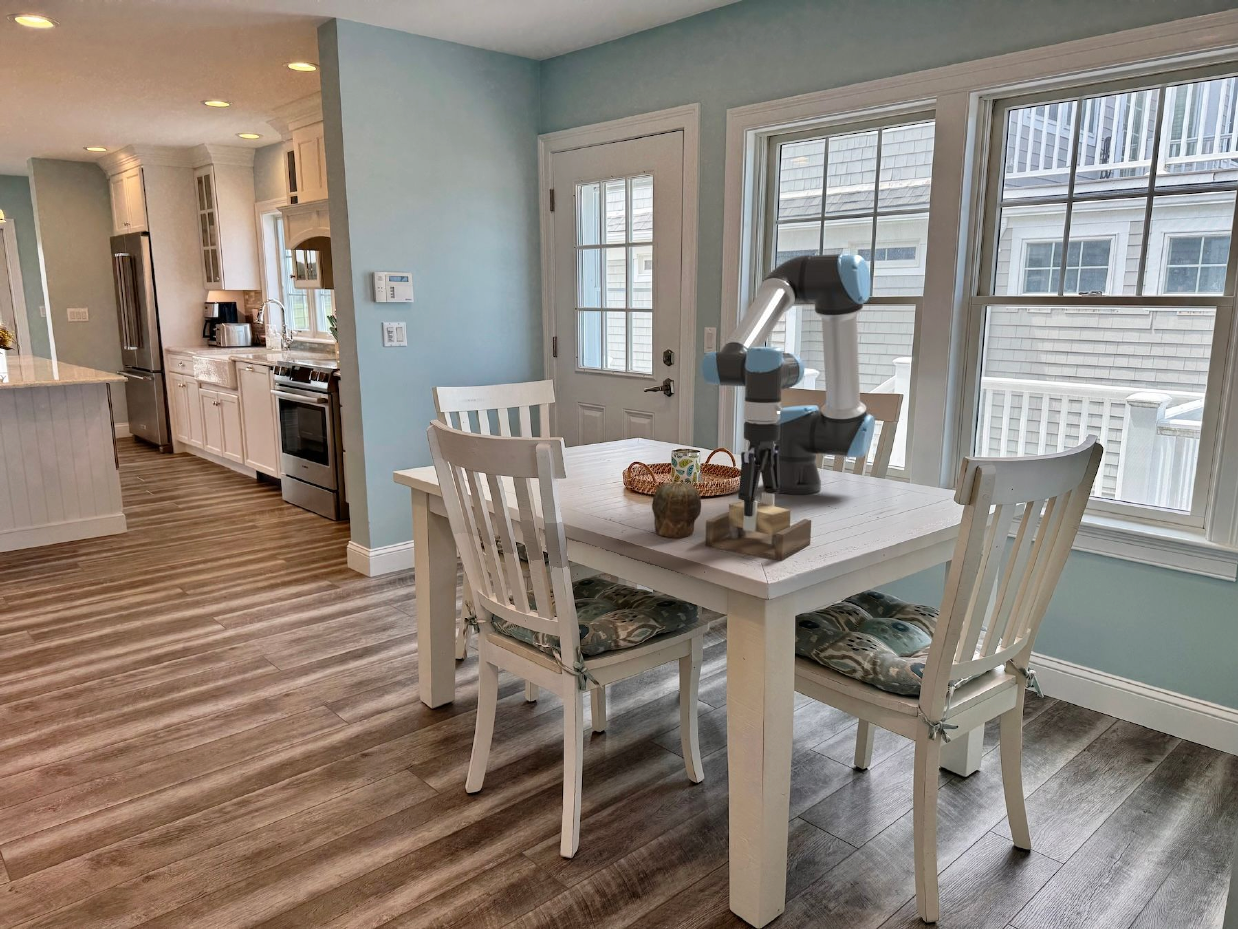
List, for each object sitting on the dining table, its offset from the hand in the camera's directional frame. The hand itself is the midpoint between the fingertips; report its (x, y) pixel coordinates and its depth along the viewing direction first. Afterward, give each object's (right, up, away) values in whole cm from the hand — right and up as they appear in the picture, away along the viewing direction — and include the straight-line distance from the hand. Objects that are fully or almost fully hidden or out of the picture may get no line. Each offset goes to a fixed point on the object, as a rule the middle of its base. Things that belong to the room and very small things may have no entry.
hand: (758, 526), depth 179 cm
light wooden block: (0, 0, 0) cm, 0 cm away
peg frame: (0, -4, +1) cm, 4 cm away
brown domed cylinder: (-17, -3, +10) cm, 20 cm away
